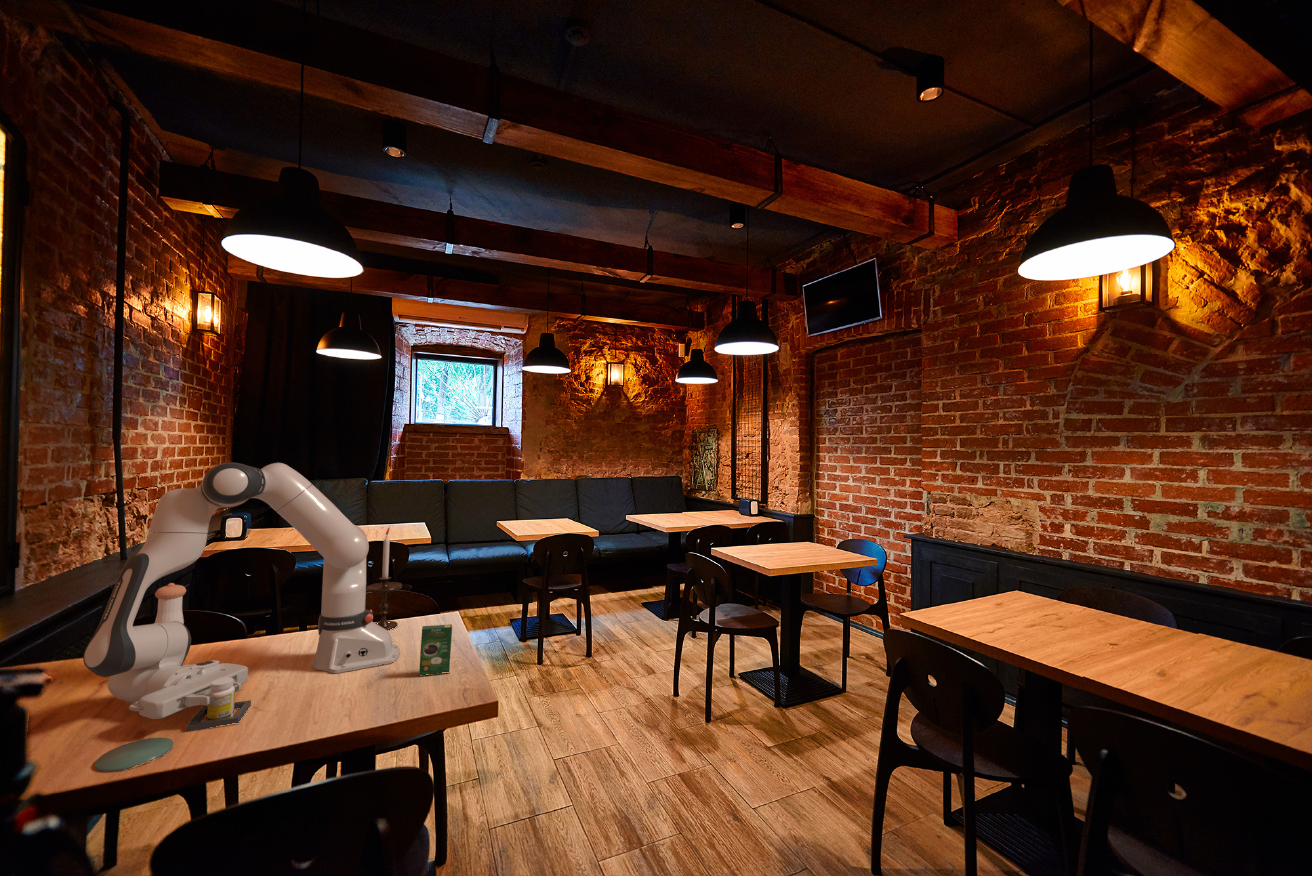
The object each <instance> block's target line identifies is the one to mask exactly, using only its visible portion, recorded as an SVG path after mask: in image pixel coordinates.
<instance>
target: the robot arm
mask: <svg viewBox="0 0 1312 876" xmlns="http://www.w3.org/2000/svg"><path fill="white" fill-rule="evenodd" d="M202 478H203V479H202V481H201V483H200V484H199V485H198V486H196V487H193V488H187V487H186V488H184V487H183V488H175V489H172V490H169V491H166V492H165V493H164V494H162V495H161V497H160V498H159V500H158V503H157V505H156V507H155V510H154V513H153V515H152V518H151V522H150V525H149V527H148V528H149V529H148V532H147V533H148V534H147V538H146V540H145V542H144V543H143V544H144V545H143V546H142V547H141V549H140V550H139V551H138V552H137V554H136V555H134V556H131V557H130V558H128V559H127V561H126V562H125V564H124V565H123V567H122V569H121V571H120V573H119V575H118V577H117V580H116V582H115V584H114V587H113V589H112V592H111V595H110V597H109V599H108V602H107V605H106V607H105V608H104V611H103V614H102V616H101V619H100V621H99V624H98V626H97V628H96V630H95V631H94V633H93V635H92V637H91V638H90V640H89V641H88V643H87V645H86V647H85V649H84V653H83V656H82V657H83V658H82V660H83V664H84V666H85V668H87V669H88V671H89V672H91V673H93V674H94V675H96V676H99V677H101V678H108V681H107V690H108V691H109V693H111V695H112V696H113V697H114V698H116V699H117V700H120V701H123V702H128V703H131V705H129V706H128V710H129V711H131V712H132V711H133V712H138V713H139V715H140V716H141V717H145V718H147V719H151V720H160V719H165V718H167V717H168V716H171V715H173V714H176V713H179V712H180V711H183V710H186V709H189V708H190V707H196V706H208V704H210V703H212V702H214V695H213V694H211V695H210V694H208V693H209V692H210V691H211V690H210V686H211V682H212V681H214V680H217V679H220V678H226V677H230V678H233V686H234V688H235V693H237V692H240V691H241V690H242V685H243V684H246V683H247V682H248V678H249V668H248V667H247V666H246V665H241V664H238V663H237V664H236V663H228V662H227V663H225V662H221V663H220V660H215V659H213V660H209V661H207V660H206V661H204V662H199V663H198V662H197V663H193V664H184V663H185V660H186V658H187V657H188V654H189V652H190V649H191V647H192V646H191V644H192V636H191V633H190V630H189V629H188V627H187V626H186V625H185V624H182V623H181V622H178V621H172V622H163V623H155V622H154V623H150V624H141V625H134V622H135V620H136V619H135V618H136V616H137V614H138V611H139V609H140V606H141V604H142V601H143V598H144V596H145V593H146V591H147V590H148V588H150V587H151V585H152V584H153V583H155V582H156V581H158V580H160V579H161V578H163V577H165V576H168V575H170V574H173V573H175V572H178V571H180V570H183V569H185V568H187V567H188V566H190V565H192V564H194V563H195V562H196V561H197V560H198V559H199V558H200V557H201V556H202V554H203V553H204V550H205V548H206V545H207V540H208V534H209V528H210V522H211V519H212V516H213V514H214V513H215V512H216V511H220V510H225V509H230V508H231V509H232V508H235V507H237V506H240V505H242V504H244V503H245V502H247V501H248V500H249V499H258V500H260V501H262V502H264V503H266V504H267V505H269V506H270V507H271V508H272V509H273V510H274V512H276V513H277V514H278V515H280V516H281V518H282V519H284V520H285V521H286V522H287V523H288V524H289V525H290V526H291V527H292V528H293V529H295V530H296V531H297V532H298V533H299V534H300V535H301V536H302V537H303V538H304V539H305V540H306V541H307V542H308V544H309V545H310V546H311V547H313V549H314V550H315V551H316V552H317V553H319V555H321V557H323V571H322V585H321V590H322V592H321V612H320V614H319V615H318V616H319V617H318V624H317V625H318V629H317V631H318V636H319V637H318V642H317V647H316V652H315V655H314V657H313V661H312V664H311V666H312V668H313V669H315V670H319V671H325V672H329V673H331V674H339V673H345V672H350V671H356V670H363V669H368V668H373V667H377V666H378V665H379V666H383V665H382V664H384V665H389V664H392V662H393V663H394V662H396V661H397V660H398V659H399V658H400V656H399V655H401V648H400V647H399V645H396V644H393V639H392V636H391V633H390V630H389V631H388V630H386V629H384V628H382V627H381V626H379V625H377V624H376V622H374V621H373V619H374V615H373V610H372V609H370V610H369V609H368V608H366V596H367V594H366V593H367V556H368V553H369V551H370V550H369V548H370V545H369V541H368V537H367V534H366V533H365V531H364V530H363V529H362V528H361V527H360V526H359V525H355V524H354V523H353V522H351V520H350V519H348V517H347V516H345V515H344V514H343V513H342V512H341V510H340V509H339V508H338V507H337V506H336V505H335V504H334V503H333V502H332V501H331V500H329V498H328V497H326V496H325V494H324V493H322V492H321V491H320V490H319V488H317V487H316V486H315V485H314V484H312V483H311V481H309V480H308V479H307V478H306V477H304V475H302V474H301V473H300V472H298V471H297V470H295V469H293V467H290V466H289V465H288V464H285V463H282V462H274V463H270V464H268V465H267V464H266V465H265V466H263V468H261V469H260V468H258V467H254V466H251V465H247V464H243V463H239V462H224V463H219V464H217V465H214V466H213V467H212V468H210V469H209V470H208V471H207V472H206V473H205V475H204V477H202ZM398 657H399V658H398ZM397 658H398V659H397ZM395 660H396V661H395ZM372 666H373V667H372ZM379 666H378V667H379Z"/></svg>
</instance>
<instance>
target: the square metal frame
mask: <svg viewBox="0 0 1312 876" xmlns="http://www.w3.org/2000/svg"><path fill="white" fill-rule="evenodd" d="M250 706H252V700H251V699H250V700H241V701H234V709H237V708H240V709H239V710H238V711H237V713H236V714H235V715H234V716H232V717H228V718H221V719H213V720H207V719H206V720H203V719H204V718H205V717H207V715H206V714H207V708H208V705H203V707H202V708H201V709H200V710H199V711H198V712H197V713H196V714H195V715H194V717H193V718H192V719H191V720H190V721H189V722H188V724H187V725H186V732H187V733H188V732H195V731H201V729H202V730H207V729H206V728H209V729H211V728H210V727H216V726H220V725H227V724H232V723H240V722H241V721H242V720H241V718H242V717H243V716H244V717H245V715H246V714H247V712H248V711H249V710H248V708H249V707H250ZM250 708H251V707H250ZM250 708H249V709H250ZM247 710H248V711H247ZM246 711H247V712H246ZM245 713H246V714H245ZM244 714H245V715H244ZM244 717H243V718H244ZM243 718H242V719H243ZM240 720H241V721H240ZM239 721H240V722H239ZM216 728H217V727H216Z"/></svg>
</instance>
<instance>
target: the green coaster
mask: <svg viewBox="0 0 1312 876" xmlns="http://www.w3.org/2000/svg"><path fill="white" fill-rule="evenodd" d="M172 747H173V748H174V740H172V739H171V738H169V737H161V736H160V737H150V738H143V739H139V740H135V741H132V742H127V743H124V744H123V745H119V746H117V747H115V748H113V749H111V750H108V751H107V752H106V751H105V753H103V754H101V755H100V756H99V757H98V758H97V759H96V761H95V764H94V768H95V770H97V771H99V772H103V773H114V771H116V772H122V771H125V770H124V769H128V770H130V769H129V768H132V767H134V766H136V765H140V764H142V763H145V762H147V761H152V760H153V759H157V758H159V757H161V756H162V757H164V756H165V755H164V754H166V753H167V752H168V751H169V750H170V751H172V749H173V748H172ZM170 751H169V752H170ZM169 752H168V753H169ZM168 753H167V754H168ZM167 754H166V755H167ZM163 755H164V756H163ZM162 757H161V758H162ZM159 759H160V758H159ZM157 760H158V759H157ZM132 769H133V768H132Z"/></svg>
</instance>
